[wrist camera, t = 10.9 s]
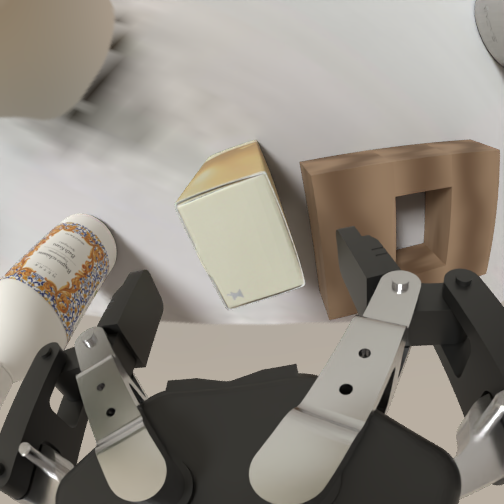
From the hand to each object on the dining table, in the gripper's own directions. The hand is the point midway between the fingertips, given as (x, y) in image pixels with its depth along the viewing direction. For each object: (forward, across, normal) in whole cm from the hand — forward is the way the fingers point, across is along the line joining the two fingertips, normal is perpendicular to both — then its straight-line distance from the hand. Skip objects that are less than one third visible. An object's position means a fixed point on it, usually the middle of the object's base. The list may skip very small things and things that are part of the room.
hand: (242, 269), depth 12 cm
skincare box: (+14, 0, 0) cm, 14 cm away
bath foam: (+14, +16, +2) cm, 21 cm away
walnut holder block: (+14, -14, +6) cm, 20 cm away
